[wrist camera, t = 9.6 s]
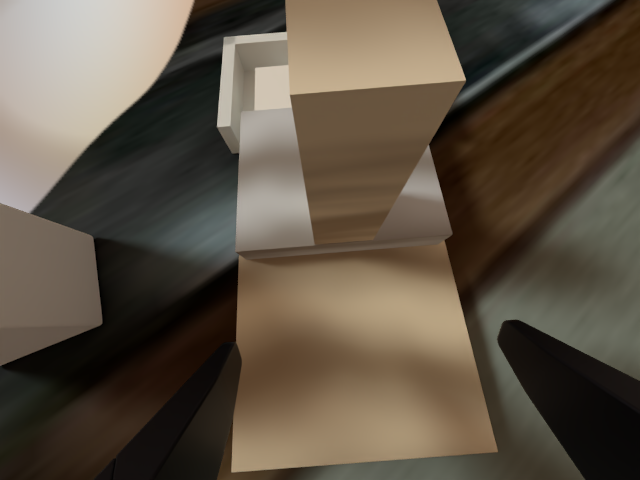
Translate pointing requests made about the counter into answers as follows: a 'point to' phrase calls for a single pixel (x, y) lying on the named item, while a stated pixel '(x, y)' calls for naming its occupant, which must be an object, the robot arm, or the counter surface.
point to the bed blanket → (350, 133)
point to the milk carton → (44, 283)
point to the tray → (244, 78)
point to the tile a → (272, 88)
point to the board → (354, 361)
